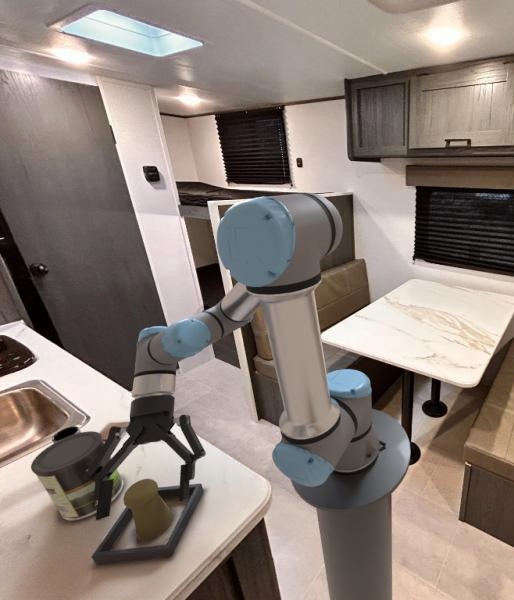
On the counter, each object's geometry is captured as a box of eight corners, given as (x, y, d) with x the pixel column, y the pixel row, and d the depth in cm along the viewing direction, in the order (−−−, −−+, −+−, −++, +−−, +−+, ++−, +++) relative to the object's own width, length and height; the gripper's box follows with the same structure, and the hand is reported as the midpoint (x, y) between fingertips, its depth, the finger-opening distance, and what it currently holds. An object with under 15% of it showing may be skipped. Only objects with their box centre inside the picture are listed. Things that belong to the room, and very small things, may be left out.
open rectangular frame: (204, 491, 71) (201, 483, 70) (171, 556, 59) (167, 548, 58) (142, 496, 69) (138, 489, 68) (96, 565, 57) (91, 556, 56)
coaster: (133, 422, 89) (132, 421, 89) (118, 439, 84) (117, 438, 84) (110, 424, 89) (109, 423, 88) (93, 441, 83) (93, 440, 83)
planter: (69, 477, 74) (50, 444, 70) (70, 464, 77) (51, 432, 73) (95, 465, 76) (78, 433, 72) (95, 453, 79) (78, 423, 75)
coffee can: (133, 471, 75) (112, 427, 69) (107, 514, 66) (81, 466, 60) (81, 481, 73) (55, 435, 67) (47, 526, 63) (14, 478, 58)
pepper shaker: (151, 544, 61) (132, 507, 56) (129, 534, 62) (109, 497, 58) (180, 514, 66) (165, 478, 61) (159, 505, 68) (143, 469, 63)
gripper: (222, 389, 75) (221, 489, 68) (96, 409, 69) (80, 521, 61) (211, 385, 68) (208, 496, 61) (71, 406, 62) (49, 532, 55)
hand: (144, 509), depth 61 cm, fingers open, 13 cm apart
